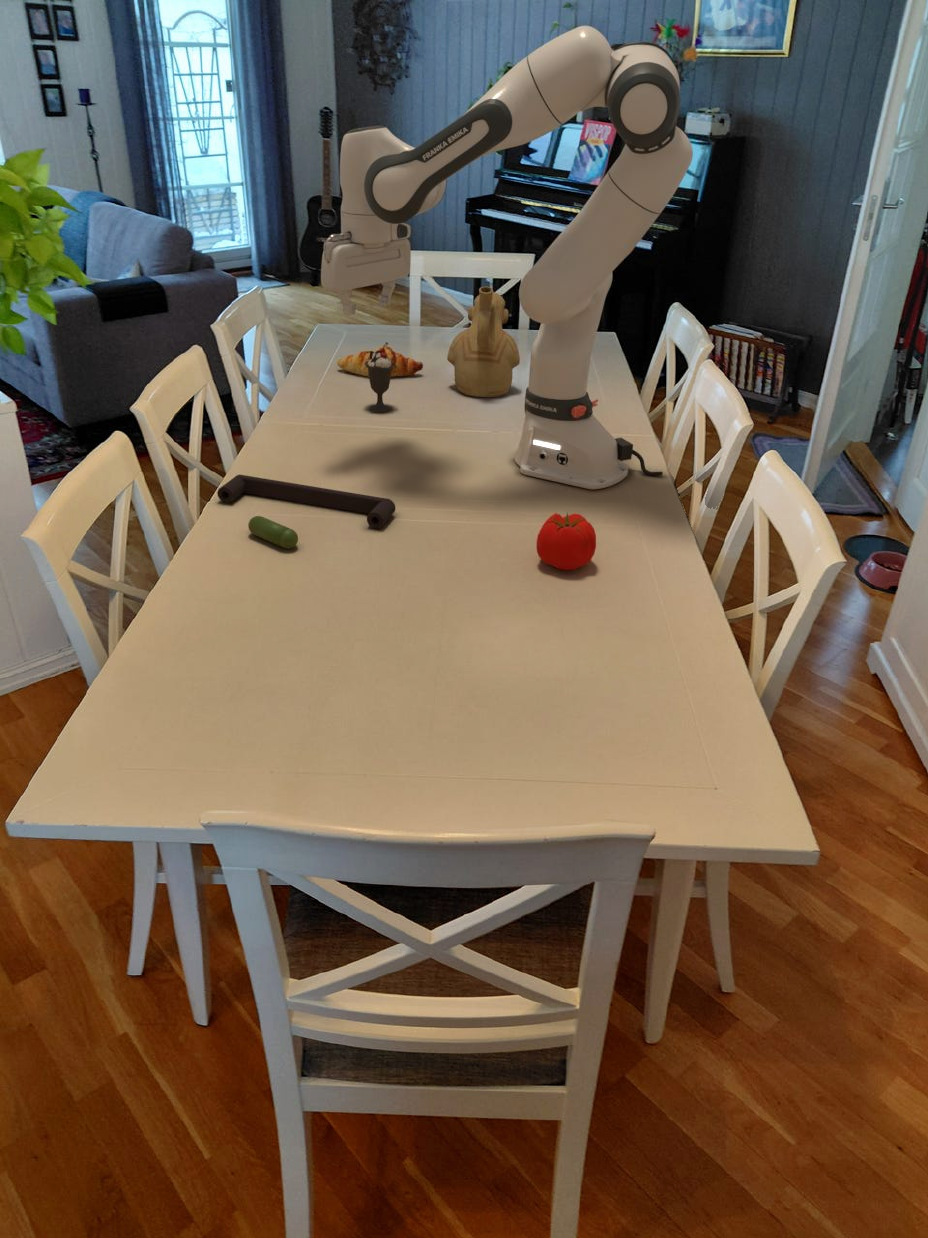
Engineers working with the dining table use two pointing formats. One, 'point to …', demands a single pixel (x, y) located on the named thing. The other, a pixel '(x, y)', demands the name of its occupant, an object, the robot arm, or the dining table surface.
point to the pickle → (273, 532)
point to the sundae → (379, 377)
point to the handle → (310, 497)
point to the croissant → (402, 364)
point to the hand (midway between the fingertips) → (367, 309)
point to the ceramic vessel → (484, 349)
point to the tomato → (566, 541)
